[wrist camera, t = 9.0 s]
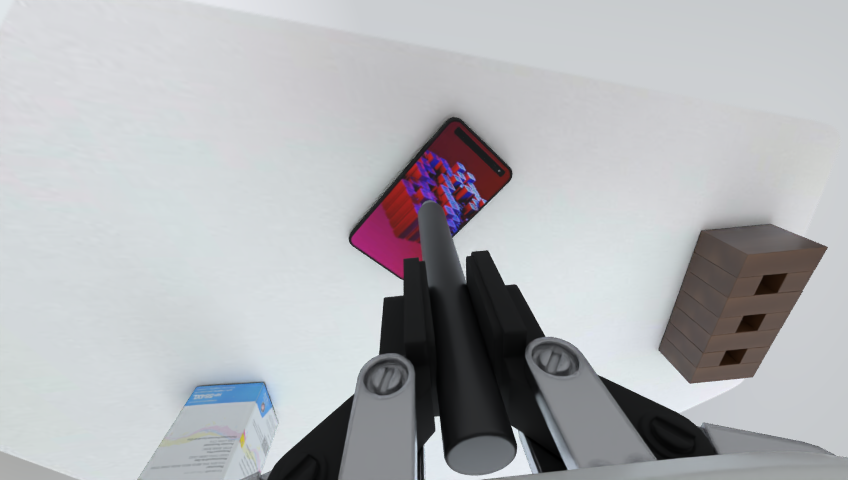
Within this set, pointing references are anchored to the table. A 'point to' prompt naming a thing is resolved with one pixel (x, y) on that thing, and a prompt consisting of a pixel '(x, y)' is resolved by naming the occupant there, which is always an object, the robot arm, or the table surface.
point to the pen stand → (736, 300)
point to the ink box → (217, 435)
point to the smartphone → (431, 194)
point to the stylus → (462, 360)
